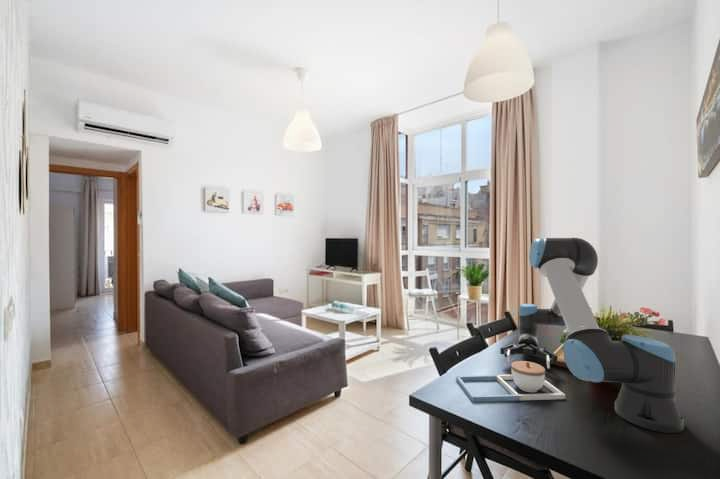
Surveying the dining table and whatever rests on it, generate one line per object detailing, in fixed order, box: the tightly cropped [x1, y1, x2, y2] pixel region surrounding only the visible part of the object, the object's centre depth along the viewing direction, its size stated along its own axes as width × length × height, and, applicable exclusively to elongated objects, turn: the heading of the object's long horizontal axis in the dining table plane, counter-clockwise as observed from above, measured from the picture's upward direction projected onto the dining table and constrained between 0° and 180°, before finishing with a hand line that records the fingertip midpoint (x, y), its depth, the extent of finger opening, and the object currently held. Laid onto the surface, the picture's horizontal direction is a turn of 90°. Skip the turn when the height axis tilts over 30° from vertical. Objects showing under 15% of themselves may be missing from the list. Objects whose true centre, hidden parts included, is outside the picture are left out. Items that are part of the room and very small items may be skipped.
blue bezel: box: [455, 374, 519, 403], centre depth 113 cm, size 16×16×2 cm
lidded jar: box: [510, 360, 546, 393], centre depth 114 cm, size 11×11×9 cm
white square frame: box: [496, 373, 566, 401], centre depth 114 cm, size 16×16×2 cm
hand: (527, 361), depth 122 cm, fingers open, 13 cm apart
